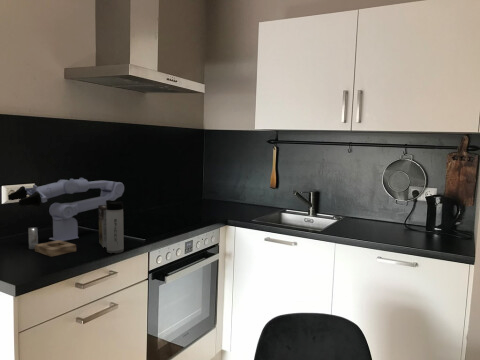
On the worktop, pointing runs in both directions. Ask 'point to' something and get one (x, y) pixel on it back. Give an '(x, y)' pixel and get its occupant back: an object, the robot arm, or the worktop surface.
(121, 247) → the travel mug
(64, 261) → the worktop surface
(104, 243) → the coffee box
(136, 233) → the worktop surface
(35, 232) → the metal peg
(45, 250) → the socket plate
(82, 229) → the worktop surface
